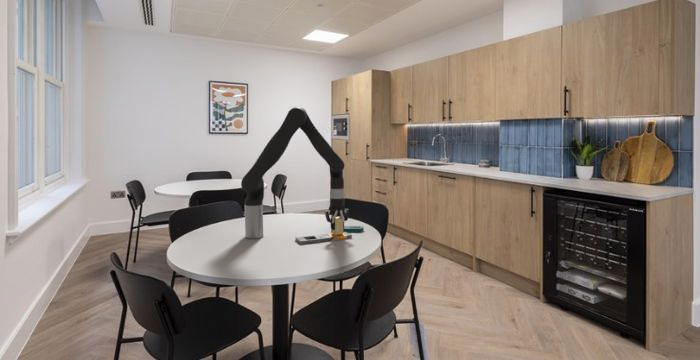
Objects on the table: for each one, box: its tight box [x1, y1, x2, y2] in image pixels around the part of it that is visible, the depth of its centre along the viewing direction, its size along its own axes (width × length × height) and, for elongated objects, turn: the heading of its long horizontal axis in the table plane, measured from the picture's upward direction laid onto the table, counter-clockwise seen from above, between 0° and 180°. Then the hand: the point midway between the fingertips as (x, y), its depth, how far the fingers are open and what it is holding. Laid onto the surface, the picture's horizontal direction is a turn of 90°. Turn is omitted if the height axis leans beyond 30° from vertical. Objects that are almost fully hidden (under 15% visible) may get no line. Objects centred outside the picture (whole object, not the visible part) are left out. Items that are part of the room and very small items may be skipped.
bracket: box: [330, 216, 365, 233], centre depth 220 cm, size 18×7×8 cm, turn 91°
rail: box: [294, 232, 353, 245], centre depth 202 cm, size 8×28×2 cm, turn 116°
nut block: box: [331, 217, 343, 235], centre depth 204 cm, size 4×4×8 cm
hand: (337, 229), depth 205 cm, fingers closed on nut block, 4 cm apart
